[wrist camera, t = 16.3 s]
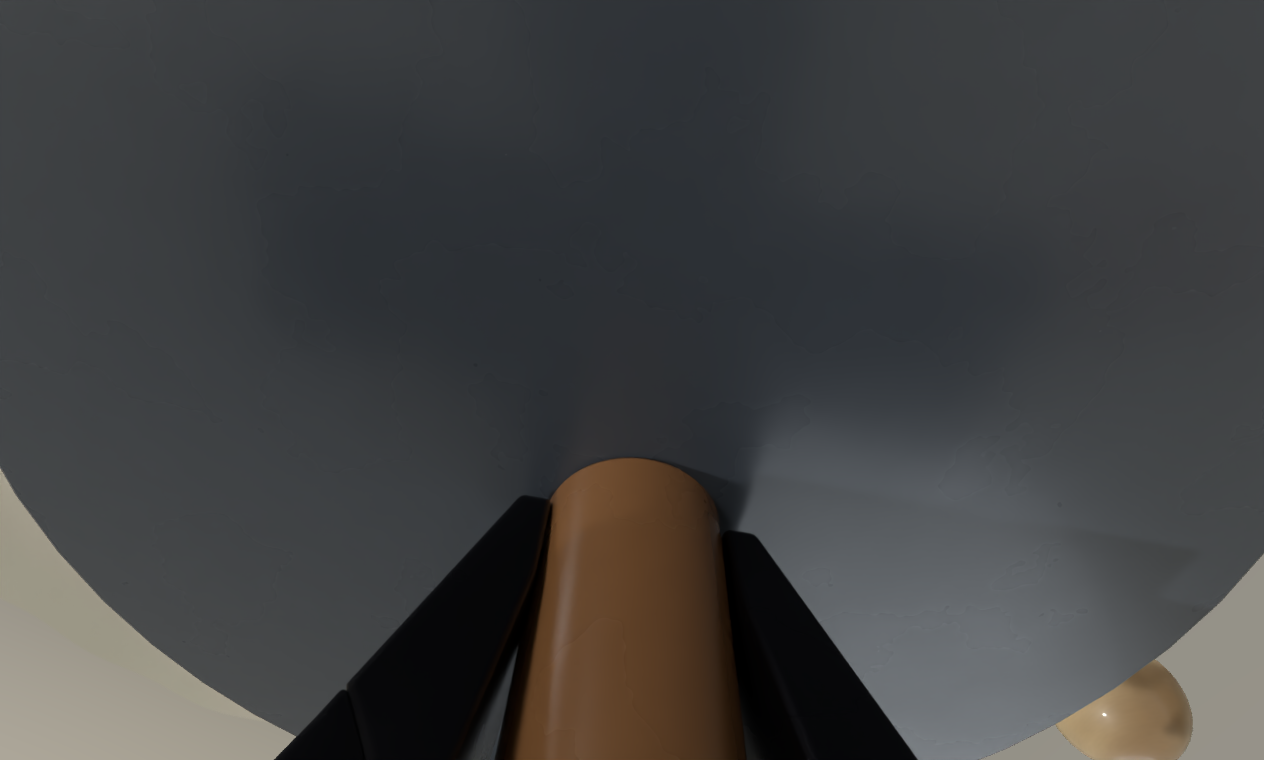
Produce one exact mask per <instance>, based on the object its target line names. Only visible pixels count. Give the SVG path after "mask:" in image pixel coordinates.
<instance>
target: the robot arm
mask: <svg viewBox="0 0 1264 760" xmlns="http://www.w3.org/2000/svg"><path fill="white" fill-rule="evenodd" d="M550 507H551V502H550V500H548V499H546V498H541V497H535V496H529V495H522V496H520V497H519V498H518V499H516V501H515V502H514V503H513V504H512V505H511V506H510V507H509V508H508V509H507V510H506V511H505V512H504V514H503V515H502V516H501V517H500V518H499V519H498V520H497V521H496V522H495V523H494V524H493V526H492V527H491V528H490V529H489V530H488V531H487V532H486V533H485V534H484V535H483V536H482V537H481V539H480V540H479V541H478V542H477V543H476V544H475V545H474V546H473V547H472V548H471V549H470V550H469V552H468V553H467V554H466V555H465V556H464V557H463V558H462V559H461V560H460V561H459V562H458V563H457V565H456V566H455V567H454V568H453V569H452V570H451V571H450V572H449V573H448V574H447V575H446V576H445V578H444V579H443V580H442V581H441V582H440V583H439V584H438V585H437V586H436V587H435V588H434V589H433V591H432V592H431V593H430V594H429V595H428V596H427V597H426V598H425V599H424V600H423V601H422V602H421V604H420V605H419V606H418V607H417V608H416V609H415V610H414V611H413V612H412V613H411V614H410V616H409V617H408V618H407V619H406V620H405V621H404V622H403V623H402V624H401V625H400V626H399V627H398V629H397V630H396V631H395V632H394V633H393V634H392V635H391V636H390V637H389V638H388V639H387V640H386V642H385V643H384V644H383V645H382V646H381V647H380V648H379V649H378V650H377V651H376V652H375V653H374V655H373V656H372V657H371V658H370V659H369V660H368V661H367V662H366V663H365V664H364V665H363V666H362V668H361V669H360V670H359V671H358V672H357V673H356V674H355V675H354V676H353V677H352V678H351V679H350V681H349V682H348V683H347V684H346V690H345V689H342V690H340V691H339V692H338V693H337V694H336V695H335V696H334V697H333V699H332V700H331V701H330V702H329V703H328V704H327V705H326V706H325V707H324V708H323V709H322V710H321V712H320V713H319V714H318V715H317V716H316V717H315V718H314V719H313V720H312V721H311V722H310V723H309V724H308V725H307V726H306V727H305V728H304V729H303V730H302V731H301V733H300V734H299V735H298V736H297V737H296V738H295V739H294V740H293V741H292V742H291V743H290V744H289V745H288V746H287V747H286V748H285V749H284V750H283V751H282V752H281V753H280V754H279V755H278V756H277V757H276V759H274V760H490V758H491V754H492V751H493V748H494V745H495V742H496V739H497V736H498V733H499V730H500V727H501V723H502V720H503V716H504V711H505V707H506V702H507V697H508V692H509V688H510V683H511V678H512V673H513V669H514V664H515V659H516V655H517V650H518V645H519V640H520V636H521V631H522V627H523V624H524V620H525V617H526V613H527V610H528V606H529V603H530V599H531V596H532V592H533V588H534V584H535V580H536V575H537V570H538V565H539V560H540V555H541V551H542V546H543V541H544V536H545V531H546V526H547V521H548V516H549V512H550ZM721 541H722V550H723V559H724V567H725V576H726V585H727V593H728V602H729V610H730V619H731V628H732V636H733V645H734V653H735V662H736V671H737V679H738V688H739V696H740V705H741V714H742V722H743V731H744V739H745V748H746V757H747V760H918V759H917V757H916V756H915V755H914V753H913V752H912V750H911V749H910V748H909V746H908V745H907V744H906V742H905V741H904V739H903V738H902V737H901V735H900V734H899V732H898V731H897V730H896V728H895V727H894V726H893V724H892V723H891V721H890V720H889V719H888V717H887V716H886V714H885V713H884V712H883V710H882V709H881V708H880V706H879V705H878V703H877V702H876V701H875V699H874V698H873V696H872V695H871V694H870V692H869V691H868V690H867V688H866V687H865V685H864V684H863V683H862V681H861V680H860V678H859V677H858V676H857V674H856V673H855V672H854V670H853V669H852V667H851V666H850V665H849V663H848V662H847V660H846V659H845V658H844V656H843V655H842V654H841V652H840V651H839V649H838V648H837V647H836V645H835V644H834V642H833V641H832V640H831V638H830V637H829V636H828V634H827V633H826V631H825V630H824V629H823V627H822V626H821V624H820V623H819V622H818V620H817V619H816V618H815V616H814V615H813V613H812V612H811V611H810V609H809V608H808V606H807V605H806V604H805V602H804V601H803V600H802V598H801V597H800V595H799V594H798V593H797V591H796V590H795V588H794V587H793V586H792V584H791V583H790V582H789V580H788V579H787V577H786V576H785V575H784V573H783V572H782V570H781V569H780V568H779V566H778V565H777V564H776V562H775V561H774V559H773V558H772V557H771V555H770V554H769V552H768V551H767V550H766V548H765V547H764V546H763V544H762V543H761V541H760V540H759V539H758V538H757V537H756V536H755V535H754V534H752V533H747V532H741V531H735V530H727V531H725V533H724V534H723V535H722V537H721Z"/></svg>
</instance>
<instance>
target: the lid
mask: <svg viewBox="0 0 1264 760" xmlns="http://www.w3.org/2000/svg"><path fill="white" fill-rule="evenodd" d="M0 468H1V470H2V472H3V474H4V475H5V477H6V479H7V481H8V482H9V484H10V486H11V487H12V489H13V491H14V493H15V494H16V496H17V497H18V499H19V500H20V501H21V503H22V504H23V505H24V507H25V508H26V509H27V511H28V512H29V513H30V515H31V516H32V517H33V519H34V520H35V522H36V523H37V524H38V526H39V527H40V528H41V530H42V531H43V532H44V534H45V535H46V536H47V538H48V539H49V540H50V542H51V543H52V544H53V546H54V547H55V548H56V550H57V551H58V552H59V553H60V555H61V556H62V557H63V558H64V559H65V560H66V561H67V562H68V563H69V564H70V565H71V566H72V568H73V569H74V570H75V571H76V572H77V573H78V574H79V575H80V576H81V577H82V578H83V579H84V581H85V582H86V583H87V584H88V585H89V586H90V587H91V588H92V589H93V590H94V591H95V592H96V594H97V595H98V596H99V597H100V598H101V599H102V600H103V601H104V602H105V603H106V604H107V605H108V606H109V607H110V608H112V609H113V610H114V611H115V612H116V613H117V614H118V615H119V616H121V617H122V618H123V619H124V620H125V621H126V622H127V623H128V624H130V625H131V626H132V627H133V628H134V629H135V630H136V631H137V632H139V633H140V634H141V635H142V636H143V637H144V638H145V639H146V640H147V641H149V642H150V643H151V644H152V645H153V646H155V647H156V648H157V649H159V650H160V651H161V652H163V653H164V654H165V655H167V656H168V657H169V658H171V659H172V660H173V661H175V662H176V663H177V664H179V665H180V666H181V667H183V668H184V669H185V670H187V671H188V672H189V673H191V674H192V675H193V676H195V677H196V678H198V679H199V680H200V681H202V682H203V683H205V684H206V685H208V686H209V687H211V688H213V689H214V690H216V691H217V692H219V693H221V694H222V695H224V696H225V697H227V698H229V699H230V700H232V701H233V702H235V703H237V704H238V705H240V706H241V707H243V708H245V709H246V710H248V711H249V712H251V713H253V714H254V715H256V716H258V717H260V718H262V719H264V720H266V721H268V722H270V723H272V724H274V725H276V726H277V727H279V728H281V729H283V730H285V731H287V732H289V733H291V734H293V735H295V736H298V735H299V734H300V733H301V731H302V730H303V729H304V728H305V727H306V726H307V725H308V724H309V723H310V722H311V721H312V720H313V719H314V718H315V717H316V716H317V715H318V714H319V713H320V712H321V710H322V709H323V708H324V707H325V706H326V705H327V704H328V703H329V702H330V701H331V700H332V699H333V697H334V696H335V695H336V694H337V693H338V692H339V691H340V690H342V689H345V690H346V684H347V683H348V682H349V681H350V679H351V678H352V677H353V676H354V675H355V674H356V673H357V672H358V671H359V670H360V669H361V668H362V666H363V665H364V664H365V663H366V662H367V661H368V660H369V659H370V658H371V657H372V656H373V655H374V653H375V652H376V651H377V650H378V649H379V648H380V647H381V646H382V645H383V644H384V643H385V642H386V640H387V639H388V638H389V637H390V636H391V635H392V634H393V633H394V632H395V631H396V630H397V629H398V627H399V626H400V625H401V624H402V623H403V622H404V621H405V620H406V619H407V618H408V617H409V616H410V614H411V613H412V612H413V611H414V610H415V609H416V608H417V607H418V606H419V605H420V604H421V602H422V601H423V600H424V599H425V598H426V597H427V596H428V595H429V594H430V593H431V592H432V591H433V589H434V588H435V587H436V586H437V585H438V584H439V583H440V582H441V581H442V580H443V579H444V578H445V576H446V575H447V574H448V573H449V572H450V571H451V570H452V569H453V568H454V567H455V566H456V565H457V563H458V562H459V561H460V560H461V559H462V558H463V557H464V556H465V555H466V554H467V553H468V552H469V550H470V549H471V548H472V547H473V546H474V545H475V544H476V543H477V542H478V541H479V540H480V539H481V537H482V536H483V535H484V534H485V533H486V532H487V531H488V530H489V529H490V528H491V527H492V526H493V524H494V523H495V522H496V521H497V520H498V519H499V518H500V517H501V516H502V515H503V514H504V512H505V511H506V510H507V509H508V508H509V507H510V506H511V505H512V504H513V503H514V502H515V501H516V499H518V498H519V497H520V496H522V495H529V496H535V497H541V498H546V499H548V500H550V502H551V507H550V512H549V516H548V521H547V526H546V531H545V536H544V541H543V546H542V551H541V555H540V560H539V565H538V570H537V575H536V580H535V584H534V588H533V592H532V596H531V599H530V603H529V606H528V610H527V613H526V617H525V620H524V624H523V627H522V631H521V636H520V640H519V645H518V650H517V655H516V659H515V664H514V669H513V673H512V678H511V683H510V688H509V692H508V697H507V702H506V707H505V711H504V716H503V720H502V723H501V727H500V730H499V733H498V736H497V739H496V742H495V745H494V748H493V751H492V754H491V758H490V760H747V757H746V748H745V739H744V731H743V722H742V714H741V705H740V696H739V688H738V679H737V671H736V662H735V653H734V645H733V636H732V628H731V619H730V610H729V602H728V593H727V585H726V576H725V567H724V559H723V550H722V541H721V537H722V535H723V534H724V533H725V531H727V530H735V531H741V532H747V533H752V534H754V535H755V536H756V537H757V538H758V539H759V540H760V541H761V543H762V544H763V546H764V547H765V548H766V550H767V551H768V552H769V554H770V555H771V557H772V558H773V559H774V561H775V562H776V564H777V565H778V566H779V568H780V569H781V570H782V572H783V573H784V575H785V576H786V577H787V579H788V580H789V582H790V583H791V584H792V586H793V587H794V588H795V590H796V591H797V593H798V594H799V595H800V597H801V598H802V600H803V601H804V602H805V604H806V605H807V606H808V608H809V609H810V611H811V612H812V613H813V615H814V616H815V618H816V619H817V620H818V622H819V623H820V624H821V626H822V627H823V629H824V630H825V631H826V633H827V634H828V636H829V637H830V638H831V640H832V641H833V642H834V644H835V645H836V647H837V648H838V649H839V651H840V652H841V654H842V655H843V656H844V658H845V659H846V660H847V662H848V663H849V665H850V666H851V667H852V669H853V670H854V672H855V673H856V674H857V676H858V677H859V678H860V680H861V681H862V683H863V684H864V685H865V687H866V688H867V690H868V691H869V692H870V694H871V695H872V696H873V698H874V699H875V701H876V702H877V703H878V705H879V706H880V708H881V709H882V710H883V712H884V713H885V714H886V716H887V717H888V719H889V720H890V721H891V723H892V724H893V726H894V727H895V728H896V730H897V731H898V732H899V734H900V735H901V737H902V738H903V739H904V741H905V742H906V744H907V745H908V746H909V748H910V749H911V750H912V752H913V753H914V755H915V756H916V757H917V759H918V760H980V759H982V758H985V757H987V756H990V755H992V754H994V753H997V752H1000V751H1002V750H1004V749H1007V748H1009V747H1011V746H1013V745H1015V744H1017V743H1019V742H1021V741H1023V740H1025V739H1027V738H1029V737H1031V736H1033V735H1035V734H1037V733H1039V732H1041V731H1043V730H1045V729H1047V728H1049V727H1051V726H1053V725H1055V724H1057V723H1059V722H1061V721H1062V720H1064V719H1066V718H1067V717H1069V716H1071V715H1072V714H1074V713H1076V712H1077V711H1079V710H1081V709H1082V708H1084V707H1085V706H1087V705H1089V704H1090V703H1092V702H1094V701H1095V700H1097V699H1099V698H1100V697H1102V696H1104V695H1105V694H1107V693H1108V692H1110V691H1112V690H1113V689H1115V688H1116V687H1118V686H1119V685H1121V684H1122V683H1123V682H1125V681H1126V680H1127V679H1129V678H1130V677H1131V676H1133V675H1134V674H1135V673H1137V672H1138V671H1139V670H1141V669H1142V668H1143V667H1145V666H1146V665H1148V664H1149V663H1150V662H1152V661H1153V660H1154V659H1156V658H1157V657H1158V656H1159V655H1161V654H1162V653H1164V652H1165V651H1166V650H1168V649H1169V648H1170V647H1171V646H1172V645H1174V644H1175V643H1176V642H1177V641H1178V640H1179V639H1180V638H1181V637H1182V636H1183V635H1184V634H1185V633H1187V632H1188V631H1189V630H1190V629H1191V628H1192V627H1193V626H1195V625H1196V624H1197V623H1198V622H1199V621H1200V620H1201V619H1202V618H1203V617H1204V616H1206V615H1207V614H1208V613H1209V612H1210V611H1211V610H1212V609H1213V608H1214V607H1215V606H1217V605H1218V604H1219V603H1220V602H1221V601H1222V600H1223V599H1224V598H1225V596H1226V595H1227V594H1228V593H1229V592H1230V591H1231V590H1232V589H1233V588H1234V586H1235V585H1236V584H1237V583H1238V582H1239V581H1240V579H1242V577H1243V576H1244V575H1245V574H1246V573H1247V572H1248V571H1249V569H1250V568H1251V567H1252V566H1253V565H1254V564H1255V563H1256V561H1257V560H1258V559H1259V558H1260V557H1261V556H1262V555H1263V554H1264V0H0Z"/></svg>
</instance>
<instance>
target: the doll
mask: <svg viewBox="0 0 1264 760" xmlns="http://www.w3.org/2000/svg"><path fill="white" fill-rule="evenodd" d="M1055 725H1056V727H1057V728H1058V729H1059V731H1060V732H1061V733H1062V734H1063V736H1064V737H1065V738H1066V739H1067V740H1068V741H1069V742H1070V743H1071V744H1072V745H1073V746H1074V747H1076V748H1077V749H1078V750H1079V751H1080V752H1082V753H1083V754H1085V755H1086V756H1088V757H1089V758H1091V759H1093V760H1177V759H1178V758H1179V757H1180V756H1181V755H1182V754H1183V753H1184V751H1185V750H1186V748H1187V746H1188V744H1189V742H1190V739H1191V735H1192V729H1193V727H1192V726H1193V719H1192V712H1191V709H1190V705H1189V702H1188V699H1187V697H1186V695H1185V693H1184V691H1183V690H1182V688H1181V686H1180V685H1179V683H1178V682H1177V680H1176V679H1175V678H1174V677H1173V676H1172V674H1171V673H1170V672H1169V671H1168V670H1167V669H1166V668H1165V667H1163V666H1162V665H1161V664H1160V663H1159V662H1158V661H1156V660H1155V659H1154V660H1153V661H1152V662H1150V663H1149V664H1148V665H1146V666H1145V667H1143V668H1142V669H1141V670H1139V671H1138V672H1137V673H1135V674H1134V675H1133V676H1131V677H1130V678H1129V679H1127V680H1126V681H1125V682H1123V683H1122V684H1121V685H1119V686H1118V687H1116V688H1115V689H1113V690H1112V691H1110V692H1108V693H1107V694H1105V695H1104V696H1102V697H1100V698H1099V699H1097V700H1095V701H1094V702H1092V703H1090V704H1089V705H1087V706H1085V707H1084V708H1082V709H1081V710H1079V711H1077V712H1076V713H1074V714H1072V715H1071V716H1069V717H1067V718H1066V719H1064V720H1062V721H1061V722H1059V723H1057V724H1055Z"/></svg>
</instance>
